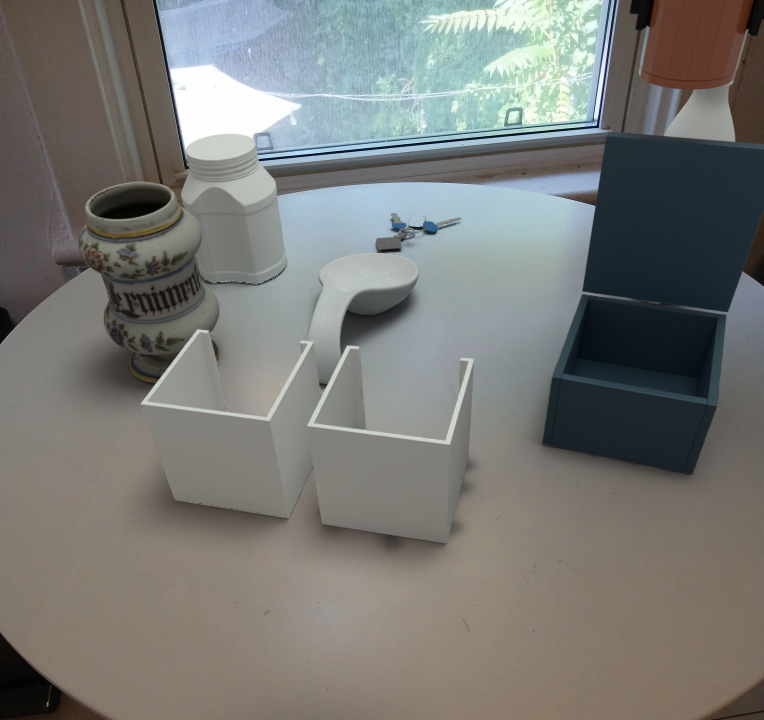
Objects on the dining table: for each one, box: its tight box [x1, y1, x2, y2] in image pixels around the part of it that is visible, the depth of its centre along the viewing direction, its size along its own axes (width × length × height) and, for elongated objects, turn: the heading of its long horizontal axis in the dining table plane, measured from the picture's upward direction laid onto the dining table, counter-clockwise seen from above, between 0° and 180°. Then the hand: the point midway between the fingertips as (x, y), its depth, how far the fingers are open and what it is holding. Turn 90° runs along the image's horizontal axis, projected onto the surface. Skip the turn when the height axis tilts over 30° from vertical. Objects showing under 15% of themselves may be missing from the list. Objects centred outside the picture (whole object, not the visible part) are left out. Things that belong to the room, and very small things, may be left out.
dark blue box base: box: [541, 293, 728, 475], centre depth 69 cm, size 15×14×8 cm
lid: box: [582, 130, 764, 313], centre depth 66 cm, size 15×14×5 cm
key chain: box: [375, 212, 462, 251], centre depth 101 cm, size 14×8×1 cm, turn 131°
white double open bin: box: [140, 329, 475, 545], centre depth 63 cm, size 25×11×11 cm, turn 76°
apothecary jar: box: [77, 181, 220, 385], centre depth 75 cm, size 12×12×18 cm
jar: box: [180, 133, 288, 286], centre depth 91 cm, size 12×10×15 cm
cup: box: [638, 0, 756, 91], centre depth 54 cm, size 7×7×8 cm
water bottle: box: [646, 80, 736, 305], centre depth 78 cm, size 7×7×25 cm
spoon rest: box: [305, 252, 420, 385], centre depth 82 cm, size 24×12×7 cm, turn 165°
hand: (697, 26), depth 55 cm, fingers closed on cup, 7 cm apart
